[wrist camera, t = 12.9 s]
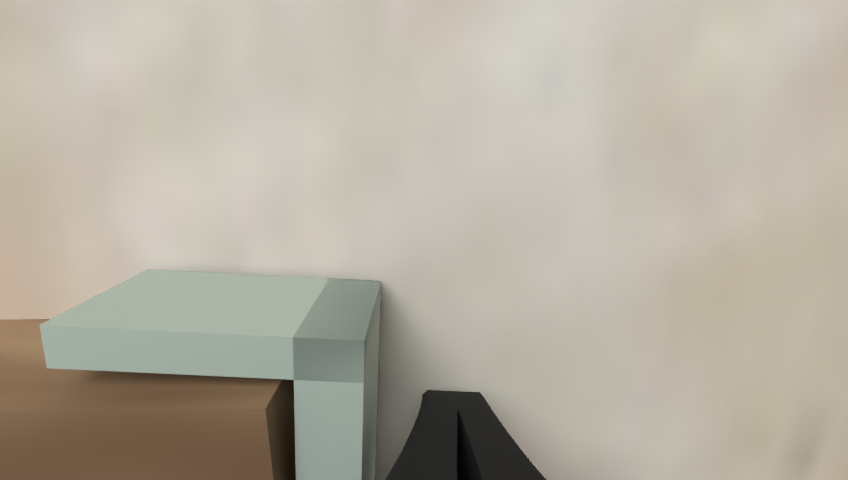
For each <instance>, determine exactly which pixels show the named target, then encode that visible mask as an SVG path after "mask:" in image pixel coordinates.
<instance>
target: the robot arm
mask: <svg viewBox="0 0 848 480" xmlns="http://www.w3.org/2000/svg"><path fill="white" fill-rule="evenodd" d="M386 480H546V479H545V478H544V477H543V475H542V474H541V473H540V472H539V471H538V470H537V469H536V468H535V466H534V465H533V464H532V463H531V462H530V460H529V459H528V458H527V457H526V455H525V454H524V453H523V452H522V450H521V449H520V448H519V446H518V445H517V444H516V443H515V441H514V440H513V439H512V437H511V436H510V435H509V433H508V432H507V431H506V429H505V428H504V427H503V425H502V424H501V422H500V421H499V419H498V418H497V417H496V415H495V414H494V412H493V411H492V409H491V408H490V406H489V405H488V403H487V402H486V400H485V398H484V397H483V396H482V395H481V394H480V392H457V391H434V390H427V391H426V392H425V393H424V394H423V397H422V403H421V408H420V411H419V414H418V417H417V419H416V422H415V425H414V427H413V429H412V431H411V433H410V436H409V438H408V440H407V442H406V444H405V446H404V448H403V450H402V452H401V454H400V456H399V457H398V459H397V461H396V463H395V464H394V466H393V468H392V470H391V472H390V473H389V475H388V477H387V478H386Z"/></svg>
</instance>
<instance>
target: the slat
mask: <svg viewBox="0 0 848 480" xmlns="http://www.w3.org/2000/svg"><path fill="white" fill-rule="evenodd" d="M48 320H50V319H24V320H0V480H296V465H295V418H294V380H287V379H266V378H244V377H223V376H202V375H181V374H159V373H138V372H117V371H96V370H74V369H53V368H47V367H46V361H45V355H44V349H43V343H42V338H41V332H40V326H39V325H40V324H42V323H44V322H46V321H48Z"/></svg>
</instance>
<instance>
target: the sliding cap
mask: <svg viewBox="0 0 848 480" xmlns="http://www.w3.org/2000/svg"><path fill="white" fill-rule="evenodd" d="M380 304H381V281H373V280H353V279H333V278H313V277H293V276H273V275H253V274H233V273H213V272H193V271H173V270H153V269H148V270H146V271H144V272H142V273H140V274H138V275H136V276H134V277H132V278H130V279H128V280H126V281H124V282H122V283H120V284H118V285H116V286H114V287H112V288H110V289H109V290H107V291H105V292H103V293H101V294H99V295H97V296H95V297H93V298H91V299H89V300H87V301H85V302H83V303H81V304H79V305H77V306H75V307H73V308H71V309H70V310H68V311H66V312H64V313H62V314H60V315H58V316H56V317H54V318H52V319H50V320H48V321H46V322H44V323H42V324H40V325H39V326H40V332H41V338H42V343H43V349H44V355H45V361H46V367H47V368H53V369H74V370H96V371H117V372H138V373H159V374H181V375H202V376H223V377H244V378H266V379H287V380H294V418H295V465H296V480H375V465H376V433H377V401H378V369H379V336H380Z"/></svg>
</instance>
